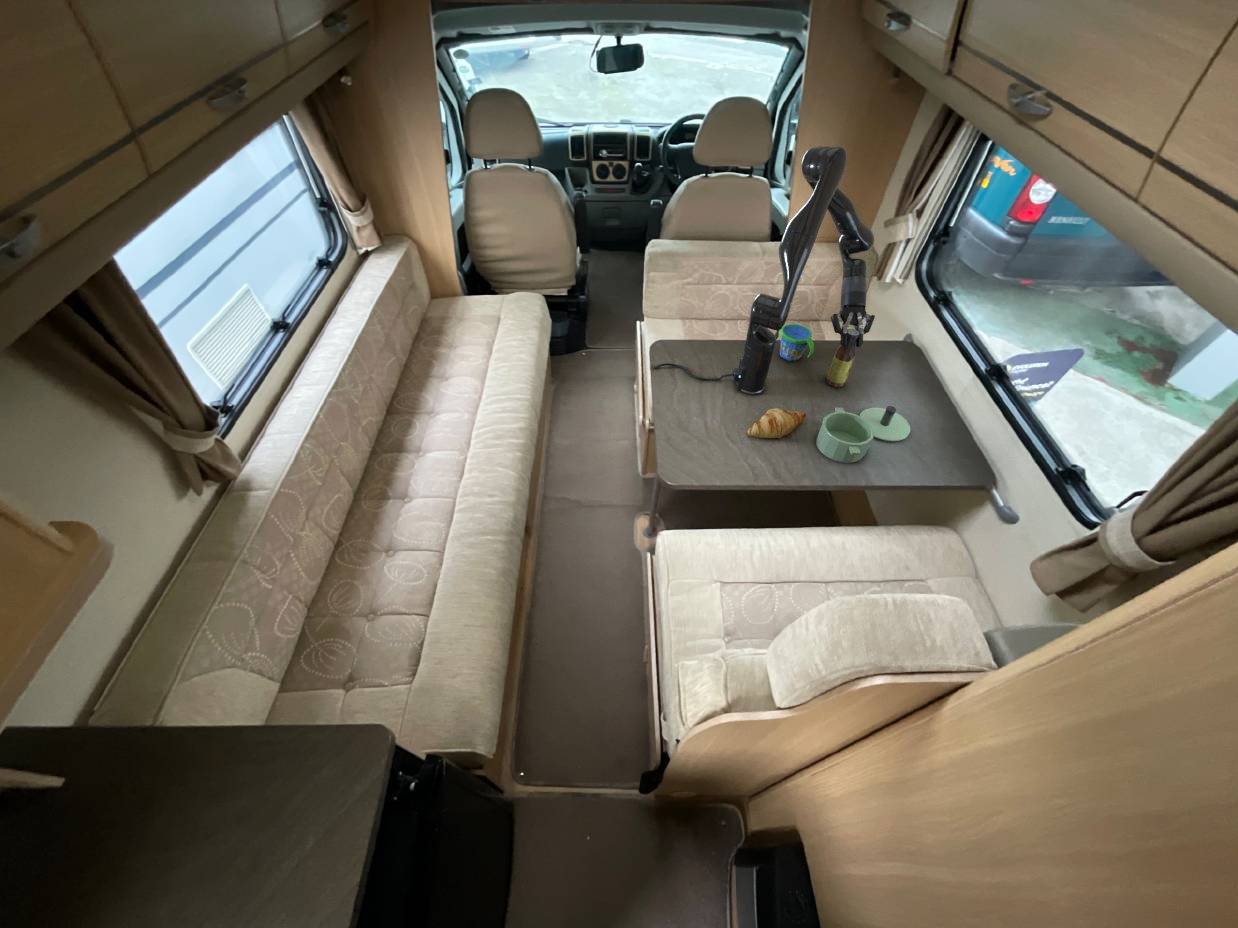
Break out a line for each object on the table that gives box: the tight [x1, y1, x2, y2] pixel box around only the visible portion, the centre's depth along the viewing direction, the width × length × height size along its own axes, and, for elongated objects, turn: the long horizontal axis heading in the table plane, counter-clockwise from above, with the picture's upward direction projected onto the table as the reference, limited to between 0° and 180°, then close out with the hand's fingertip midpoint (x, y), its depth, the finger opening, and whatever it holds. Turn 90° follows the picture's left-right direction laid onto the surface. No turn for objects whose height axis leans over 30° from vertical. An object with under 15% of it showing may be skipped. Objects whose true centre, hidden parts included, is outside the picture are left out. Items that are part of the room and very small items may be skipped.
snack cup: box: [773, 323, 815, 362], centre depth 200 cm, size 16×10×10 cm
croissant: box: [746, 407, 807, 439], centre depth 173 cm, size 21×10×8 cm
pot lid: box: [858, 405, 911, 442], centre depth 175 cm, size 16×16×7 cm
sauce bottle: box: [826, 328, 859, 388], centre depth 186 cm, size 6×6×20 cm
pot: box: [815, 407, 874, 464], centre depth 168 cm, size 15×20×8 cm
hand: (851, 346), depth 180 cm, fingers closed on sauce bottle, 4 cm apart
